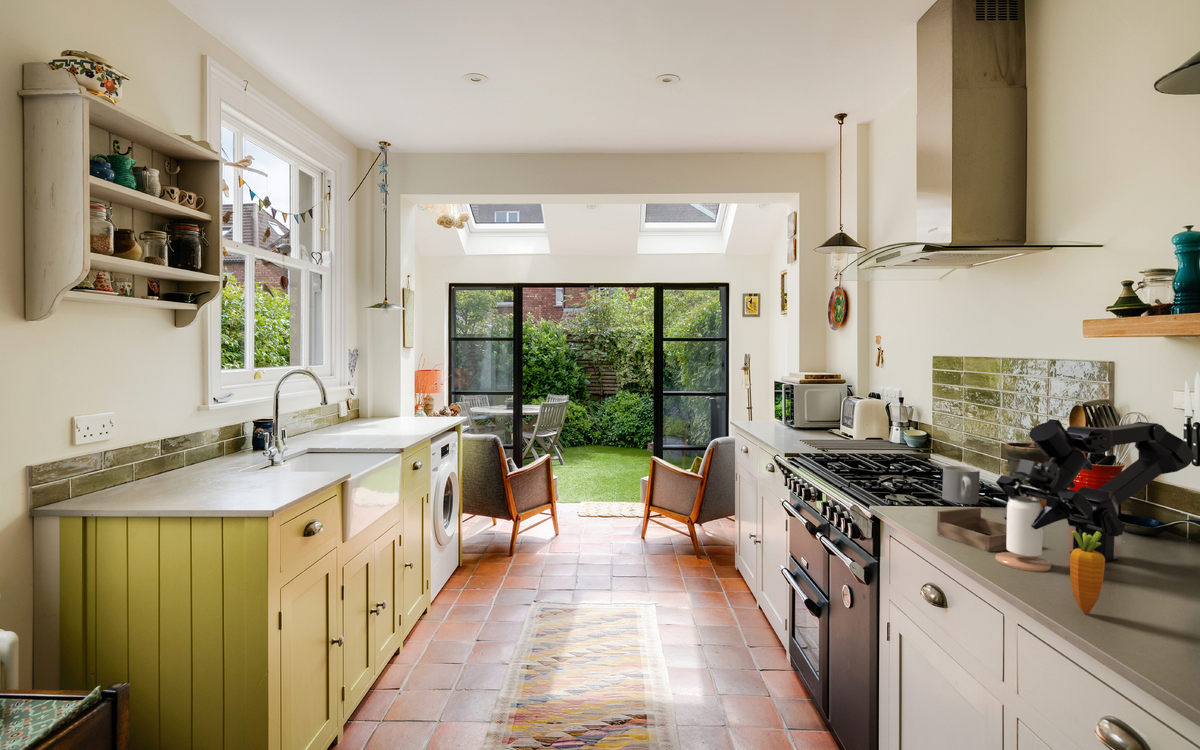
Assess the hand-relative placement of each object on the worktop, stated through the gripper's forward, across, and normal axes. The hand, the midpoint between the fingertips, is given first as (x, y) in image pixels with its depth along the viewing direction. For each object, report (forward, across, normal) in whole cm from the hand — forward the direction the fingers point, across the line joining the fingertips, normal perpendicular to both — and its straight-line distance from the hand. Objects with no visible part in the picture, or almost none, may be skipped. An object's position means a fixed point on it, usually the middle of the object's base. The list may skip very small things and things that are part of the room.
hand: (1019, 523), depth 131 cm
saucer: (+6, 0, +7) cm, 9 cm away
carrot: (+14, +23, -2) cm, 28 cm away
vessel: (-24, -36, +38) cm, 58 cm away
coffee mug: (-17, -51, +31) cm, 62 cm away
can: (+4, 0, +6) cm, 7 cm away
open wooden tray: (+2, -16, +11) cm, 19 cm away
